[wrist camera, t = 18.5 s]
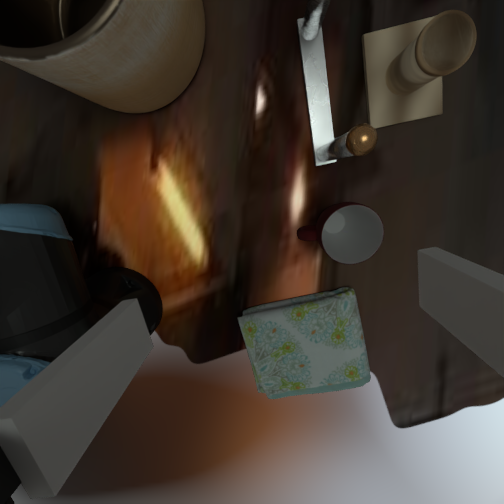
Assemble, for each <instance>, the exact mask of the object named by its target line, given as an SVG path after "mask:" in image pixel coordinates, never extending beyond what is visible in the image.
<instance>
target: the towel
mask: <svg viewBox="0 0 504 504" xmlns="http://www.w3.org/2000/svg"><path fill="white" fill-rule="evenodd" d="M238 320H239V325H240V328H241V332H242V334H243V338H244V341H245V345H246V349H247V352H248V355H249V359H250V362H251V365H252V369H253V373H254V377H255V381H256V385H257V390H258V392H259V393H260V392H262V393H266V395H267V397H268V398H269V399H277V398H282V397H287V396H295V395H302V394H314V393H323V392H331V391H339V390H344V389H351V388H356V387H360V386H363V385H364V384H366V383H367V382H369V381H370V378H371V377H370V369H369V363H368V357H367V352H366V346H365V341H364V335H363V330H362V325H361V319H360V315H359V309H358V304H357V300H356V296H355V292H354V289H352V288H349V287H342V288H339V289H337V290H333V291H331V292H329V291H325V292H320V293H316V294H310V295H306V296H301V297H296V298H291V299H287V300H282V301H277V302H272V303H268V304H262V305H258V306H254V307H251V308H248V309H247V310H244V311H243V315H242V317H238Z"/></svg>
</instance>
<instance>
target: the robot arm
mask: <svg viewBox="0 0 504 504" xmlns="http://www.w3.org/2000/svg"><path fill="white" fill-rule="evenodd" d="M72 241H73V239H72V237H71V236H69V234H68V232H67V229H66V227H65V224H64V222H63V219H62V217H61V215H60V214H59V212H58V211H56V210H55V209H54V208H52V207H49V206H46V205H40V204H0V504H14V501H13V500H12V498H11V495H12V494H13V493H14V491H15V490H16V489H17V487H18V486H19V485H20V484H22V486H23V487H24V489H25V491H26V492H27V494H28V495H29V497H30V499H32V498H43V497H55V496H56V495H57V493H58V492H59V490H60V489H61V487H62V485H63V484H64V482H65V481H66V479H67V478H68V476H69V475H70V473H71V472H72V470H73V469H74V467H75V466H76V464H77V462H78V461H79V460H80V458H81V456H82V455H83V453H84V452H85V450H86V449H87V447H88V446H89V444H90V443H91V441H92V440H93V438H94V437H95V435H96V434H97V432H98V431H99V429H100V428H101V426H102V424H103V423H104V421H105V420H106V418H107V417H108V415H109V414H110V412H111V410H112V409H113V407H114V406H115V404H116V403H117V402H118V400H119V398H120V397H121V395H122V394H123V392H124V391H125V389H126V387H127V386H128V385H129V383H130V382H131V380H132V379H133V377H134V376H135V374H136V373H137V371H138V369H139V368H140V366H141V365H142V363H143V362H144V360H145V359H146V357H147V356H148V354H149V353H150V351H151V350H152V348H153V343H152V340H151V337H150V335H151V334H152V333H153V332H154V330H155V329H156V327H157V326H158V324H159V322H160V320H161V317H162V301H161V298H160V295H159V293H158V291H157V290H156V288H155V287H154V285H153V284H152V283H151V282H150V281H149V280H148V279H147V278H146V277H144V276H143V275H141V274H140V273H138V272H136V271H134V270H131V269H128V268H123V267H111V268H106V269H103V270H101V271H99V272H97V273H95V274H93V275H92V276H90V277H89V278H87V279H86V280H85V279H84V276H83V273H82V270H81V267H80V264H79V261H78V258H77V255H76V252H75V249H74V246H73V243H72ZM418 276H419V304H420V307H421V308H422V309H423V310H425V311H426V312H427V313H428V314H429V315H430V316H432V317H433V318H434V319H435V320H436V321H438V322H439V323H440V324H441V325H442V326H443V327H445V328H446V329H447V330H448V331H449V332H451V333H452V334H453V335H454V336H455V337H456V338H458V339H459V340H460V341H461V342H462V343H463V344H465V345H466V346H467V347H468V348H469V349H471V350H472V351H473V352H474V353H475V354H476V355H478V356H479V357H480V358H481V359H482V360H483V361H485V362H486V363H487V364H488V365H489V366H491V367H492V368H493V369H494V370H495V371H496V372H498V373H499V374H500V375H501V376H502V377H504V275H502V274H499V273H497V272H494V271H492V270H490V269H487V268H485V267H483V266H480V265H478V264H475V263H473V262H471V261H468V260H466V259H464V258H461V257H459V256H456V255H454V254H452V253H449V252H447V251H444V250H442V249H440V248H437V247H433V248H427V249H421V250H418Z"/></svg>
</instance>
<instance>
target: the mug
mask: <svg viewBox="0 0 504 504" xmlns="http://www.w3.org/2000/svg"><path fill="white" fill-rule="evenodd" d="M297 236H298V238H299V239H300V240H304V241H315V240H317V241H318V242H319V244H320V246H321V247H322V249H323V250H324V251H325V253H326V254H327V255H328V256H329V257H330V258H331V259H333V260H334V261H336V262H339V263H342V264H358V263H361V262H364V261H366V260H367V259H369V258H370V257H372V256H373V255H374V254H375V253H376V252H377V251H378V249H379V248H380V246H381V244H382V241H383V237H384V226H383V222H382V220H381V218H380V216H379V215H378V214H377V213H376V212H375V211H374V210H373V209H371V208H370V207H367V206H365V205H362V204H359V203H355V202H343V203H339V204H335V205H332V206H330V207H328V208H326V209H325V210H324V211H323V212H322V213H321V214H320V216H319V218H318V221H317V224H316V225H310V226H303V227H301V228H299V229H298V230H297Z"/></svg>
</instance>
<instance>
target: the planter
mask: <svg viewBox="0 0 504 504" xmlns="http://www.w3.org/2000/svg"><path fill="white" fill-rule="evenodd" d="M204 42H205V15H204V7H203V2H202V0H0V60H2V61H4V62H6V63H8V64H11V65H13V66H15V67H17V68H20V69H22V70H24V71H27V72H29V73H31V74H33V75H35V76H38V77H40V78H42V79H44V80H47V81H49V82H51V83H53V84H55V85H58V86H60V87H62V88H64V89H66V90H68V91H71V92H73V93H75V94H77V95H79V96H81V97H84V98H86V99H88V100H90V101H92V102H95V103H97V104H99V105H101V106H104V107H106V108H109V109H112V110H116V111H120V112H126V113H145V112H150V111H154V110H157V109H159V108H162V107H164V106H166V105H167V104H169V103H171V102H172V101H173V100H175V99H176V98H177V97H178V96H179V95H180V94H181V93H182V92H183V91H184V90H185V89H186V87H187V86H188V85H189V83H190V82H191V80H192V79H193V77H194V75H195V73H196V71H197V69H198V66H199V63H200V60H201V57H202V53H203V48H204Z"/></svg>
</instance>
